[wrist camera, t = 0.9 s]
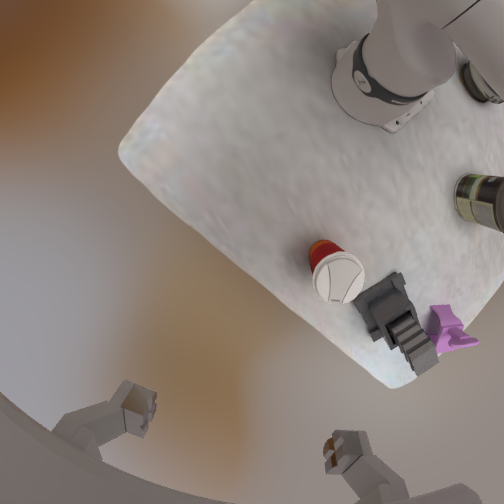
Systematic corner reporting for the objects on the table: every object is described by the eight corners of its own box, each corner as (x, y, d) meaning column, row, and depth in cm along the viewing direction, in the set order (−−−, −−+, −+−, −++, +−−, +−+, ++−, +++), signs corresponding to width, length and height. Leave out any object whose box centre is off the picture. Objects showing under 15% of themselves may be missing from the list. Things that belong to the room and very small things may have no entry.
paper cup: (338, 277, 50) (358, 311, 36) (299, 270, 50) (307, 303, 37) (348, 237, 48) (374, 259, 34) (308, 229, 48) (320, 249, 34)
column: (392, 294, 47) (435, 344, 30) (399, 310, 48) (439, 362, 31) (374, 306, 48) (411, 360, 31) (381, 321, 49) (416, 377, 32)
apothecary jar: (477, 59, 33) (520, 39, 16) (497, 104, 35) (546, 94, 18) (448, 61, 35) (494, 35, 18) (471, 110, 38) (524, 98, 20)
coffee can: (452, 171, 42) (496, 173, 28) (484, 176, 41) (526, 180, 27) (452, 221, 45) (494, 235, 31) (482, 221, 44) (523, 235, 30)
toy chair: (416, 339, 52) (444, 378, 38) (426, 305, 50) (460, 340, 35) (442, 336, 52) (471, 371, 37) (452, 304, 49) (487, 335, 35)
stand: (396, 269, 48) (419, 288, 38) (411, 309, 50) (433, 333, 40) (351, 297, 51) (366, 323, 41) (370, 335, 52) (385, 363, 42)
